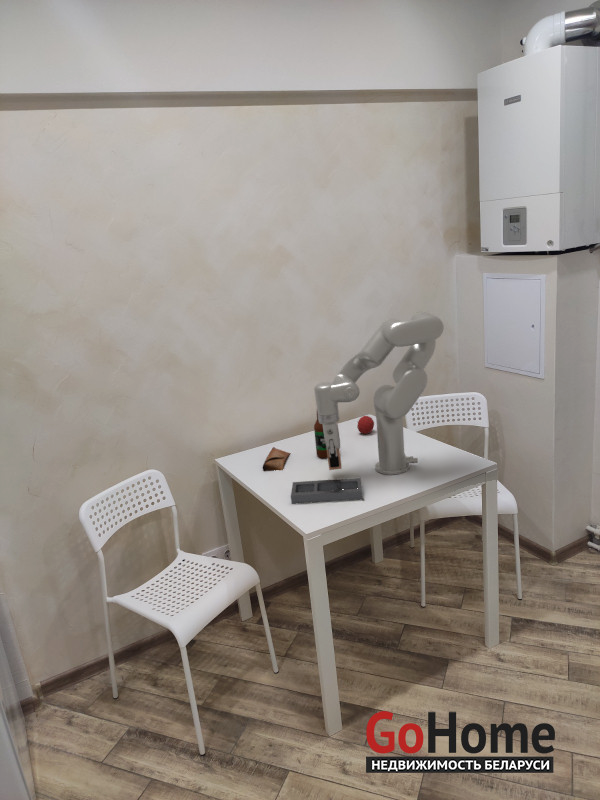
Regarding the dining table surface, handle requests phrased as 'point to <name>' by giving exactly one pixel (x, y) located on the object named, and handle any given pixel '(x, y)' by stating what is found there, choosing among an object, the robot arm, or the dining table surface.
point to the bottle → (320, 440)
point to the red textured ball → (365, 424)
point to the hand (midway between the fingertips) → (334, 463)
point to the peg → (338, 458)
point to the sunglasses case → (275, 460)
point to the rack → (326, 490)
